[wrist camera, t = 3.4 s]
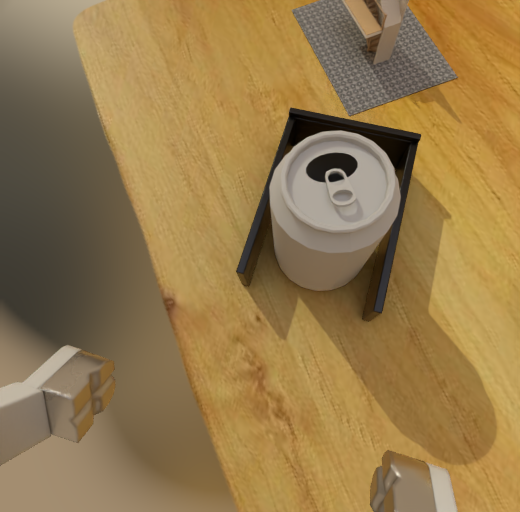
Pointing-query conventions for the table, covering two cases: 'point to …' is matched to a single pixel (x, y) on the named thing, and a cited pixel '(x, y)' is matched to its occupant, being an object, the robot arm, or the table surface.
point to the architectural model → (372, 50)
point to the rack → (402, 158)
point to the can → (331, 207)
